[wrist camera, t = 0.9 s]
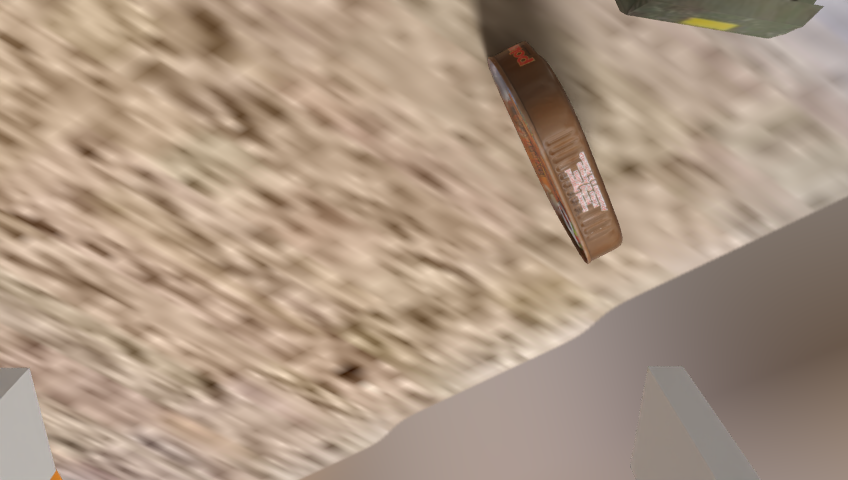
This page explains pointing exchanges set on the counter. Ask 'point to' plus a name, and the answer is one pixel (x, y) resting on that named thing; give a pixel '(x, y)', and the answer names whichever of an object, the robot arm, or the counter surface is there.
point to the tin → (557, 149)
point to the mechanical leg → (728, 14)
